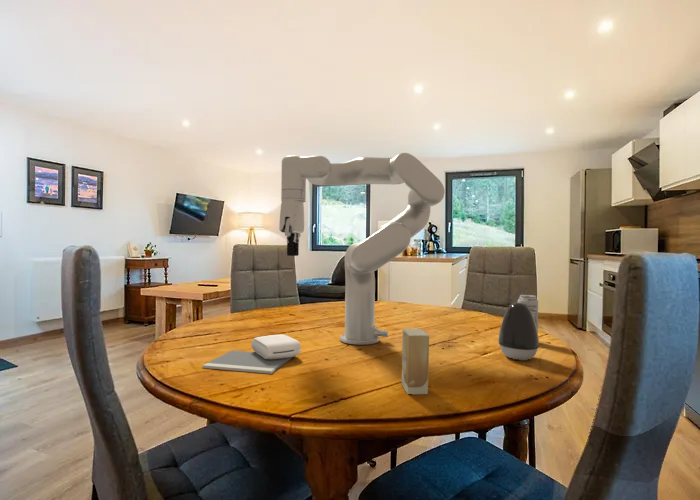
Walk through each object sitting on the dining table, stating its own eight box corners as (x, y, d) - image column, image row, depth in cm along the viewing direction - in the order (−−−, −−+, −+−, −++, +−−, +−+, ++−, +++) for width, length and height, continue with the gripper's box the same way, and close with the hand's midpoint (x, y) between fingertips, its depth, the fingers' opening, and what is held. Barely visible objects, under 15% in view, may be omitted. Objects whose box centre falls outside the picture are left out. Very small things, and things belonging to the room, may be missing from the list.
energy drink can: (538, 341, 123) (539, 295, 123) (536, 345, 118) (537, 297, 118) (518, 338, 127) (519, 294, 126) (515, 342, 121) (516, 295, 121)
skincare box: (400, 384, 83) (401, 328, 83) (420, 383, 83) (421, 328, 83) (407, 395, 76) (408, 334, 76) (429, 395, 77) (429, 334, 76)
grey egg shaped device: (544, 357, 105) (544, 302, 105) (531, 365, 97) (532, 306, 97) (506, 350, 112) (507, 299, 112) (492, 357, 104) (493, 302, 104)
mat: (292, 357, 102) (292, 354, 102) (271, 373, 88) (271, 371, 88) (231, 352, 106) (231, 350, 106) (202, 367, 92) (202, 365, 92)
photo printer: (285, 332, 110) (304, 341, 100) (285, 347, 110) (304, 357, 100) (251, 336, 105) (266, 346, 94) (250, 351, 105) (266, 363, 94)
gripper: (290, 200, 126) (290, 255, 126) (272, 193, 111) (271, 255, 111) (312, 199, 124) (311, 255, 124) (296, 193, 110) (295, 256, 110)
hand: (292, 255), depth 118 cm, fingers closed
